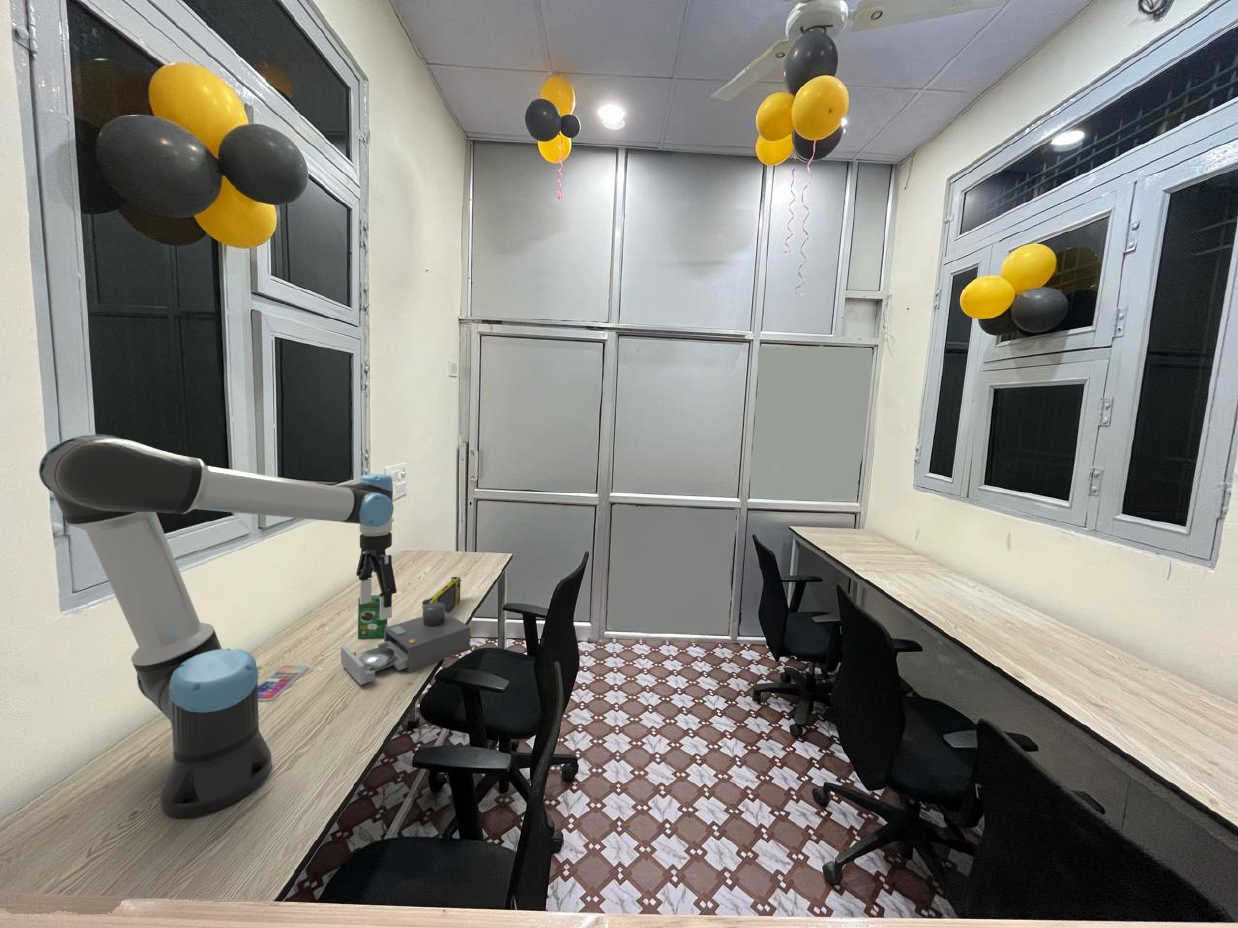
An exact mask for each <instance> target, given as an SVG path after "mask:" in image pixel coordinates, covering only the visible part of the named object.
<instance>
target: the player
mask: <svg viewBox="0 0 1238 928" xmlns="http://www.w3.org/2000/svg"><path fill="white" fill-rule="evenodd" d="M470 639H471V627H470V626H469V625H468V624H466V623H465V622H463V621H461V620H460V619H458V618H456V617H455V616H453V615H452V614H450V613H449V614H448V613H447V612H445V604H444V603H440V602H434V603H429V604H426V605H425V606H424V611H423V610H422V616H419V617H416V618H414V619H413V618H412V619H410V620H407V621H403V622H400V623H395V624H393V625H389V626H387V627H386V628H384V638H383V640H384V642H386V641H389V640H390V641H391V642H392V643H395V642H399V643H400V644H401V645H403V646H404V647H405V648H406V649H407V650H408V667H407V668H404V669H405V671H407V673H408V674H410V673H412V672H415V671H417V670H418V671H419V670H420V669H423V668H425V667H428V666H431V665H434V664H435V663H438V662H441V661H443V660H446V659H449V658H452V657H454V656H456V655H459V654H461V653H464V652H466V651H468V650H469V651H470V649H471V645H470V643H471V640H470ZM404 669H403V670H404Z"/></svg>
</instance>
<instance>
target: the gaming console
mask: <svg viewBox="0 0 1238 928" xmlns="http://www.w3.org/2000/svg"><path fill="white" fill-rule="evenodd" d="M461 583H462V579H461V577H459V576H452V577H451V578H450V581H449V582H448V583H447V584H446V585H445V586H444V587H442V588H441V589H440V590H439V591H438V592H436V593H435V594H434V595H433V596H432V597H429V598H427V599H424V600H423V601H422V605H421V607H422V612H423V611H424V606H425V605H426V604H429V603H434V602H440V603H444V604H445V612H447V613H448V614H450V613H451V611H453V610H454V609H455V607H456V606H457V605H458V604H459V602H460V600H461Z"/></svg>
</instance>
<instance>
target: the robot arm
mask: <svg viewBox="0 0 1238 928" xmlns="http://www.w3.org/2000/svg"><path fill="white" fill-rule="evenodd" d="M38 475H39V478H40V481H41V482H42V484H43V485H44V487H46V488H47V489H48V490H49V491H50V492H51V493H52V494H53V496H54V498H55V500H56V503H57V505H58V507H59V509H60V511H61V514H62V515H63V517H64V519H65V521H66V524H67V525H68V526H71V527H74V528H77V529H81V530H84V531H85V533H86V534H87V536H88V539H89V540H90V543H91V545H92V547H93V550H94V552H95V554H96V556H97V558H98V560H99V563H100V565H101V567H102V569H103V572H104V574H105V576H106V578H107V580H108V582H109V584H110V587H111V588H112V591H113V594H114V596H115V597H116V600H117V603H118V604H119V606H120V608H121V611H122V614H123V615H124V618H125V620H126V622H127V624H128V626H129V628H130V630H131V633H132V634H133V635H132V636H133V637H134V639H135V641H136V644H137V649H136V650H135V651H134V653H133V654H132V655H131V658H130V660H131V663H132V664H133V665H132V666H133V668H134V669H135V671H136V680H137V686H138V689H139V690H140V692H141V694H142V695H143V696H144V697H145V698H147V700H149V701H151V702H152V704H154V706H156V708H158V710H160V711H161V713H162V714H164V716H165V717H166V718H167V719H168V720H169V722H170V723H171V724H170V725H171V732H172V733H171V734H172V751H173V758H172V763H171V764H170V765H171V766H170V767H169V770H168V774H167V776H166V778H165V781H164V784H163V786H162V789H161V794H160V804H161V805H160V806H161V811H162V812H163V814H164V815H166V816H167V817H169V818H174V819H192V818H198V817H203V816H206V815H210V814H213V813H216V812H218V811H220V810H223V809H226V808H227V807H230V806H232V805H233V804H235V803H238V802H239V801H241V800H242V799H244V798H245V797H247V796H249V794H251V793H252V792H254V791H255V790H256V789H258V787H260V785H262V784H263V783H264V782H265V780H266V779H267V777H268V776H269V774H270V772H271V769H272V753H271V749H270V748H269V746H268V744H267V742H266V741H265V739H264V736H263V735H262V734H261V732H260V728H259V726H260V725H259V723H260V722H259V702H258V685H259V684H258V683H259V681H258V680H259V676H260V675H259V671H258V670H259V668H258V666H257V661H256V659H255V657H254V656H253V654H251V653H250V652H248V651H246V650H243V649H238V648H234V649H233V650H231V649H230V648H222V646H221V643H220V641H219V638H218V635H217V633H216V630H215V628H214V626H213V625H212V624H210V623H207V622H200V619H199V617H198V614H197V612H196V609H195V607H194V604H193V602H192V601H193V600H192V599H191V597H190V593H189V592H188V589H187V586H186V585H185V582H184V579H183V577H182V574H181V573H180V570H179V566H178V564H177V562H176V560H175V557H174V554H173V551H172V550H171V549H172V548H171V547H170V545H169V542H168V540H167V536H166V535H165V532H164V529H163V527H162V525H161V522H160V519H159V517H158V514H157V513H161V514H162V513H164V514H179V515H181V514H182V515H185V514H188V513H189V512H191V511H193V510H205V511H214V512H215V511H216V512H223V513H224V512H225V513H226V512H227V513H237V514H247V515H248V514H249V515H258V516H259V515H261V516H272V517H280V518H281V517H282V518H283V517H284V518H293V519H295V518H296V519H302V520H303V519H305V520H315V521H326V522H336V523H337V522H339V523H347V524H356V525H358V524H359V533H361V534H360V535H359V548H360V549H361V550H360V555H359V561H358V565H357V570H356V576H357V577H358V579H359V597H360V604H365V603H369V602H371V595H372V578H373V573H375V574H376V578H377V582H378V585H379V589H380V593H379V594H378V595H379V597H380V620H384V619H387V620H389V619H390V618H392V617H393V616H392V615H393V594H397V592H398V590H397V585H396V581H395V580H396V579H395V575H394V569H393V564H392V563H393V562H392V557H393V556H392V555H391V554H388V555H387V554H386V553H387V552H386V550H387V549H388V548H391V547H392V545H393V533H392V530H393V522H394V518H393V513H394V510H395V509H394V507H395V506H394V503H393V497H394V496H393V495H394V494H393V493H394V487H393V486H394V485H393V484H394V483H393V478H392V477H391V476H390V475H389V474H382V473H381V474H380V473H372V474H368V473H367V474H362V475H361V476H360V478H359V483H354V484H340V485H328V484H324V483H316V482H311V481H306V480H305V481H303V480H299V479H298V480H297V479H294V478H293V479H291V478H285V477H279V476H274V475H266V474H262V473H261V474H260V473H253V472H248V471H242V470H235V469H229V468H222V467H217V466H211V465H206V463H205V462H204V461H203V460H202V459H201V458H198V457H192V456H185V455H180V454H176V453H173V452H168V451H164V450H161V449H158V448H154V447H153V446H148V445H145V444H142V443H141V442H137V441H135V440H130V439H125V438H121V437H117V436H115V435H108V434H88V435H87V434H83V435H81V436H80V435H79V436H74V437H70V438H68V439H65V440H63V441H60V442H59V443H57V444H55V445H53V446H52V447H51V448H50V449H48V450H47V451H46V452H45V454H44V455H43V457H42V458H41V460H40V464H39V468H38Z"/></svg>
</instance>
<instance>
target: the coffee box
mask: <svg viewBox="0 0 1238 928" xmlns="http://www.w3.org/2000/svg"><path fill="white" fill-rule="evenodd" d="M357 602H358V605H357V607H358V608H357V609H358V612H357V613H358V614H357V639H358V640H359V639H361V640H365V639H384V628H386V627H388V619H384V620H380V597H379V594H377V595H376V594H375V595H374V594H371V602H369V603H365V604H360V596H359V597H358V601H357Z"/></svg>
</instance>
